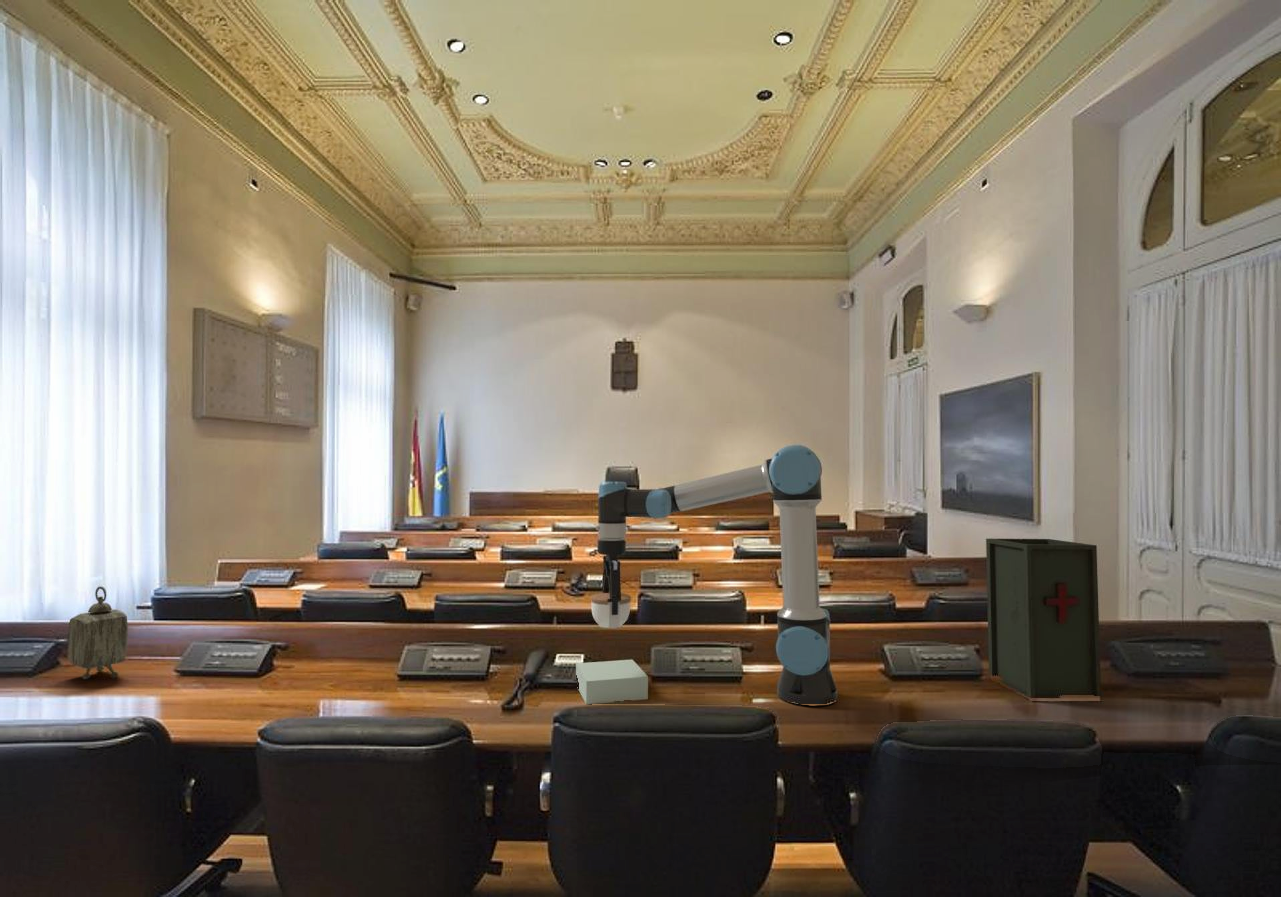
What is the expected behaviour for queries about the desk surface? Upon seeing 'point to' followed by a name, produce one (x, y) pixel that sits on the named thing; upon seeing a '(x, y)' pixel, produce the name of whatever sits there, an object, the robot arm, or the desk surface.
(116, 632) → the tabletop clock
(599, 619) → the lidded jar
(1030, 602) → the first aid box
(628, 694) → the sage block
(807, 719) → the desk surface
